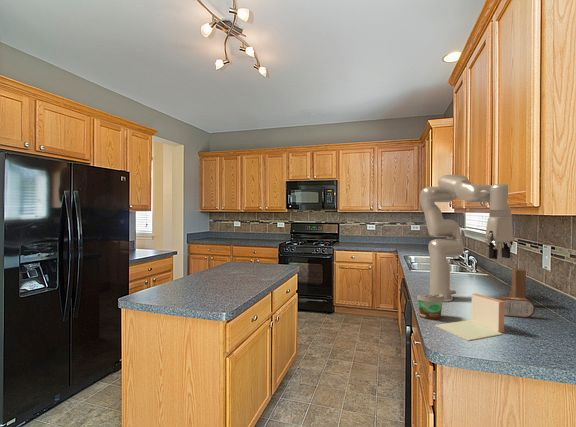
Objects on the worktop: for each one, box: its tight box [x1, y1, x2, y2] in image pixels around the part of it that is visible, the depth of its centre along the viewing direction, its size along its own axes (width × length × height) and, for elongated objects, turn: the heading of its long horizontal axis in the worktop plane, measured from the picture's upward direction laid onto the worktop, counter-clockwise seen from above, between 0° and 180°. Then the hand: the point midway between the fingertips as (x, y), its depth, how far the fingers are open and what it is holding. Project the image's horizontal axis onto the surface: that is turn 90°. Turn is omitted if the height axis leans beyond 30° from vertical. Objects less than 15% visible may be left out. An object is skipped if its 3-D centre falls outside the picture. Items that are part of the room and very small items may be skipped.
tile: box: [470, 292, 505, 334], centre depth 125 cm, size 3×12×12 cm, turn 20°
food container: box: [416, 293, 444, 321], centre depth 135 cm, size 12×6×10 cm, turn 105°
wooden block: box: [506, 268, 527, 298], centre depth 156 cm, size 9×4×18 cm, turn 166°
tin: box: [497, 295, 536, 319], centre depth 138 cm, size 15×3×8 cm, turn 75°
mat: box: [434, 319, 503, 342], centre depth 122 cm, size 18×15×1 cm
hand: (499, 257), depth 127 cm, fingers open, 6 cm apart
